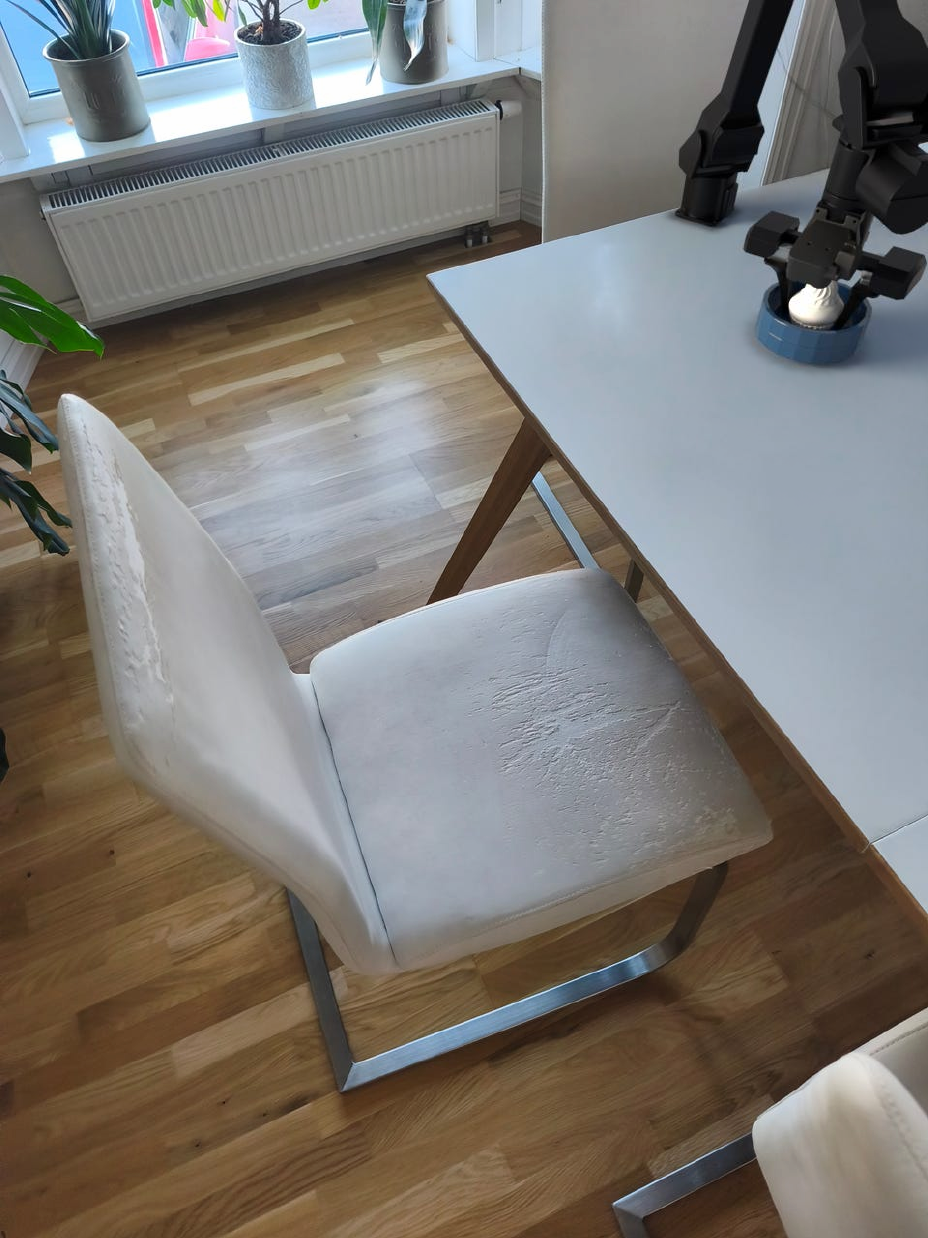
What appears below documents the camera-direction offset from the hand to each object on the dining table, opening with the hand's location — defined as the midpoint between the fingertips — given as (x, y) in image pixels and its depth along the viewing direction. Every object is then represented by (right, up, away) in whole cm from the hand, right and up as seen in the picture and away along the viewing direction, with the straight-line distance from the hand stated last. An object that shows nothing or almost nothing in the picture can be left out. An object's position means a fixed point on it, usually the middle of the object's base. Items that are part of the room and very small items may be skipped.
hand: (810, 322), depth 101 cm
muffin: (0, -1, +1) cm, 2 cm away
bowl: (0, -1, +2) cm, 2 cm away
